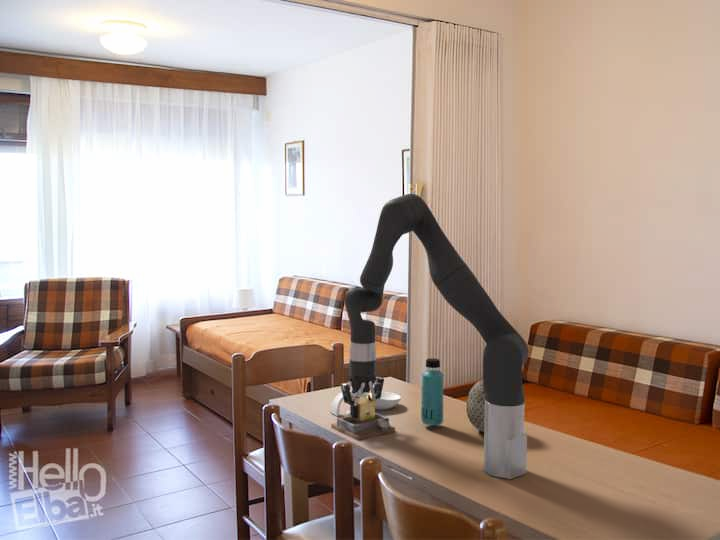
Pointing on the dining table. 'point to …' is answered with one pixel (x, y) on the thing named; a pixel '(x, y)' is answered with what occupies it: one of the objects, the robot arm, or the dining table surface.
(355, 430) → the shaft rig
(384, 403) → the spoon rest
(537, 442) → the dining table surface
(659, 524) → the dining table surface
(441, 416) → the beverage bottle
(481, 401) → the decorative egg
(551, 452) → the dining table surface
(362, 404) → the yellow cube
